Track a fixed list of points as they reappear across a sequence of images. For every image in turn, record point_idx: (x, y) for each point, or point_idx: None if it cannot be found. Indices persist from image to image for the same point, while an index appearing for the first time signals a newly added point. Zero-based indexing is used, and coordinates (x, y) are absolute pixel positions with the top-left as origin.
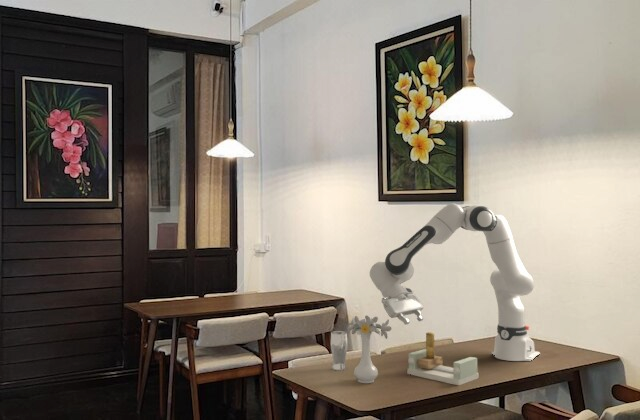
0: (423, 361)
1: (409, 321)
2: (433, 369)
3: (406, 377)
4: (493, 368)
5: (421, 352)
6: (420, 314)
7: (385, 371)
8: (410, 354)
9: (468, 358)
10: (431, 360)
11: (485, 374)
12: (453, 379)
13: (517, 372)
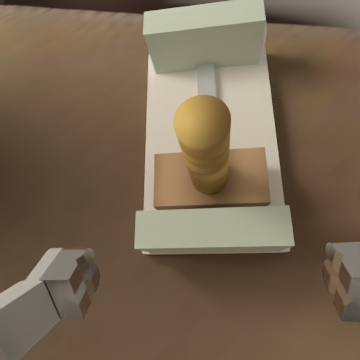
0: (266, 172)
1: (331, 242)
2: None
3: (328, 221)
4: (27, 99)
5: (224, 210)
6: (16, 291)
7: (333, 353)
8: (292, 233)
9: (171, 24)
10: (238, 149)
11: (103, 76)
12: (266, 59)
13: (32, 40)
